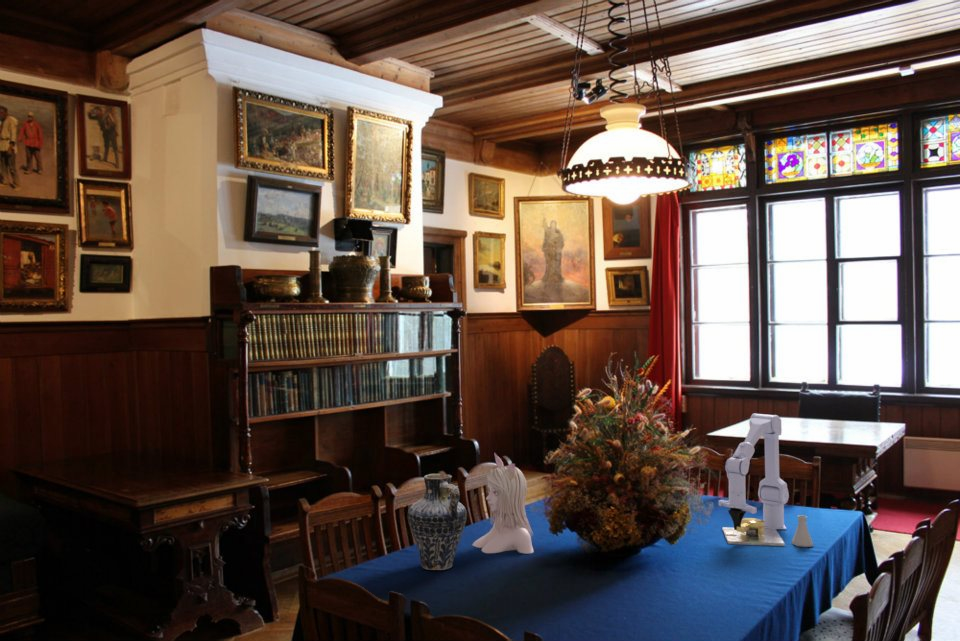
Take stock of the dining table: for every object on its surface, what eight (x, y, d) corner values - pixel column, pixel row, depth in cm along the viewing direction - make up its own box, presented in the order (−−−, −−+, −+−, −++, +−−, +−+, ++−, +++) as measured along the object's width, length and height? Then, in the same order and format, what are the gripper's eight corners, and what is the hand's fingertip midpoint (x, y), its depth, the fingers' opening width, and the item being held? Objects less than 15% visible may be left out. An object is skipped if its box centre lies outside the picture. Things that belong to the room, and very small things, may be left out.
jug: (396, 567, 258) (394, 476, 257) (438, 553, 272) (437, 467, 272) (440, 581, 244) (438, 485, 243) (482, 565, 258) (480, 474, 257)
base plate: (722, 529, 295) (722, 518, 295) (775, 531, 291) (775, 520, 291) (728, 543, 277) (727, 532, 277) (784, 546, 274) (784, 534, 274)
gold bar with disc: (746, 529, 290) (746, 516, 290) (768, 533, 285) (768, 520, 285) (728, 537, 280) (728, 525, 279) (751, 542, 274) (751, 529, 274)
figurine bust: (463, 539, 289) (461, 452, 288) (512, 531, 297) (511, 447, 297) (494, 559, 265) (492, 464, 264) (546, 550, 273) (545, 459, 273)
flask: (817, 547, 272) (816, 518, 272) (796, 547, 272) (795, 519, 272) (808, 541, 279) (808, 513, 279) (788, 541, 279) (788, 513, 279)
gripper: (713, 489, 283) (713, 527, 283) (747, 497, 271) (748, 536, 271) (725, 486, 287) (725, 523, 287) (760, 494, 275) (760, 532, 275)
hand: (737, 529), depth 279 cm, fingers closed, pressing on gold bar with disc
